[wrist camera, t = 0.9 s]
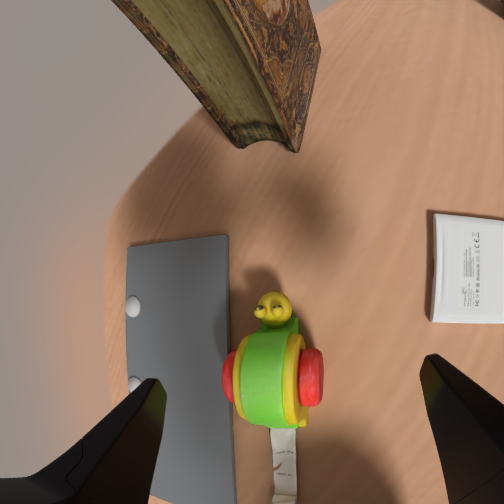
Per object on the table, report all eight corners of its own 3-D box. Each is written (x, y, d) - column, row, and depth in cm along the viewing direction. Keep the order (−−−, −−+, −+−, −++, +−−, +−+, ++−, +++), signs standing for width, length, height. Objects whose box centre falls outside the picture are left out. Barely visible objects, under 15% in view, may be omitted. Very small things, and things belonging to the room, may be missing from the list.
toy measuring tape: (323, 290, 21) (311, 282, 15) (320, 501, 17) (307, 547, 11) (243, 295, 23) (205, 290, 17) (251, 496, 19) (223, 535, 13)
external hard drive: (539, 322, 14) (427, 321, 18) (538, 230, 16) (430, 217, 20) (548, 322, 13) (432, 322, 17) (547, 225, 14) (435, 211, 18)
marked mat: (238, 517, 19) (234, 521, 18) (147, 490, 22) (143, 493, 21) (228, 235, 25) (224, 233, 24) (131, 248, 28) (126, 246, 27)
